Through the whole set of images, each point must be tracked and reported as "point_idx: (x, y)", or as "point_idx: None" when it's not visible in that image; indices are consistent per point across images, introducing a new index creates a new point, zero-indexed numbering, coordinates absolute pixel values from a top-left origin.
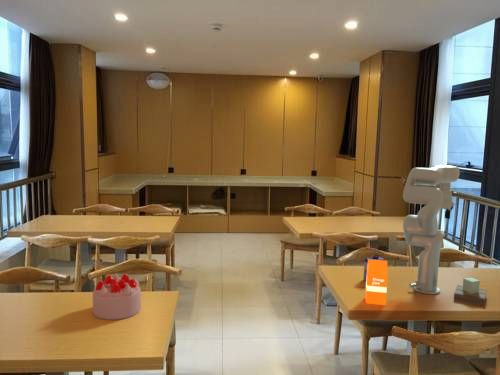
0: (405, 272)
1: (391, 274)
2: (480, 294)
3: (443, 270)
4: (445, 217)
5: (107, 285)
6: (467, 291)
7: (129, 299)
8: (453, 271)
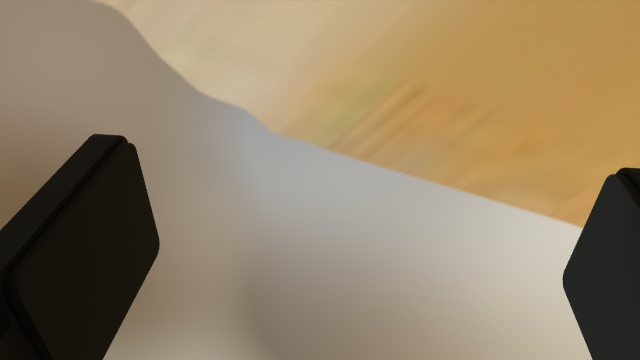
0: (476, 89)
1: (598, 87)
2: None
3: (204, 43)
4: (152, 235)
5: None
6: None
7: None
8: (151, 5)
